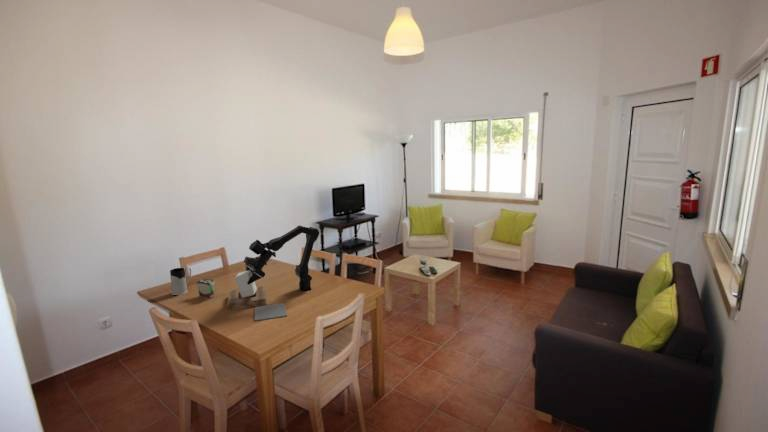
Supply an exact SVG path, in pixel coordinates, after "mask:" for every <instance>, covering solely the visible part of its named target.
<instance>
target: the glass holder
mask: <svg viewBox="0 0 768 432" xmlns="http://www.w3.org/2000/svg"><path fill="white" fill-rule="evenodd" d="M187 269H188V270H189V277H188V279H186V274H187V273H186V272H187ZM169 273H170V284H171V285H170V286H171V296H172V295H181V294H184V295H186V294H185V293H187V292H188V293H189V291H188V286H187V285H188V283H189V281H190V279H191V276H192V270H191V268H190V267H186V268H184V267H177V268H172V269H171V270H169ZM188 293H187V294H188ZM181 296H182V295H181Z"/></svg>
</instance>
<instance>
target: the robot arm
mask: <svg viewBox="0 0 768 432" xmlns="http://www.w3.org/2000/svg"><path fill="white" fill-rule="evenodd" d="M301 234H305V239H306V241H305V245H304V249H303V253H302V256H301V259H300V260H301V261H300V262H299V264H296V265H295V269H294V272H295V273H294V274H295V277H296V276H297V277H298V279H299V281H298V288H299V291H301V292H305V291H311V290H312V286H311V285H312V284H311V283H312V282H311V281H312V280H313V276H311V275H310V274H309V263H310V260H311V259H310V258H311V256H312V252H313V248H314V244H315V242H316V241H317V240H318V238H319V235H320V231H319V229H317V228H315V227H313V226H310V227H305V226H303V225H300V224H299V225H297V226H296V227H295V228H293V229H291V230H290V231H288V232H286V233H284V234H283V235H281V236H280V237H275V238H273V239H270V240H269V241H267V242H264V243H262V242H261V241H260V240H259V239H256V240H255V241H253V242H252V243H251V244H250V245H249V247H248V249H249V250H250V251H251V252H252V253H254V254H255V255H258V256H256V257H255V258H254V257H250V256H245V257H244V259H243V263H244V264H245V271H248V270H251V273H252V276H251V278H250V279H249V281H248V283H247V284H251V283H252V282H254V281H255V282H256V281H259V280H260V279H262V278H263V279H264V278H265V276H266V273H265V271H263V268H264V267H265V266H267V265H268V262H269V260H270V259H271V258H272V257H274V258H276V257H277V254H276V252H277V251H279V250H280V249H281V248H283V247H284V245H285V244H286V243H287V242H289V241H291V240H293V239H294V238H296V237H297V236H299V235H301Z"/></svg>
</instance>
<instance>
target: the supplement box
mask: <svg viewBox="0 0 768 432" xmlns="http://www.w3.org/2000/svg"><path fill="white" fill-rule="evenodd" d="M251 276H252V273H251V270H248V271H246V270H244V271H241V272H238V273H237V274H236V276H234V277H235V278H234V279H235V282H236V284H237V288H238V290H239V291H240V294H241V296H242V298H241V299H243V297H244V298H248V297H247V296H251V295H254V294H255V292H256V290H257V287H258V286H257V285H256V281H254V282H252V283H251V284H247V283H248V281H249V279H250V278H251Z"/></svg>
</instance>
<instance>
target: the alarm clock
mask: <svg viewBox="0 0 768 432" xmlns="http://www.w3.org/2000/svg"><path fill="white" fill-rule="evenodd" d="M196 285H197V291H198V295H199V297H200V298H205V299H208V300H212V299H213V298H214V297H215V289H214V288H215V285H216V282H215V279H214V278H201V279H197V280H196Z"/></svg>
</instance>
